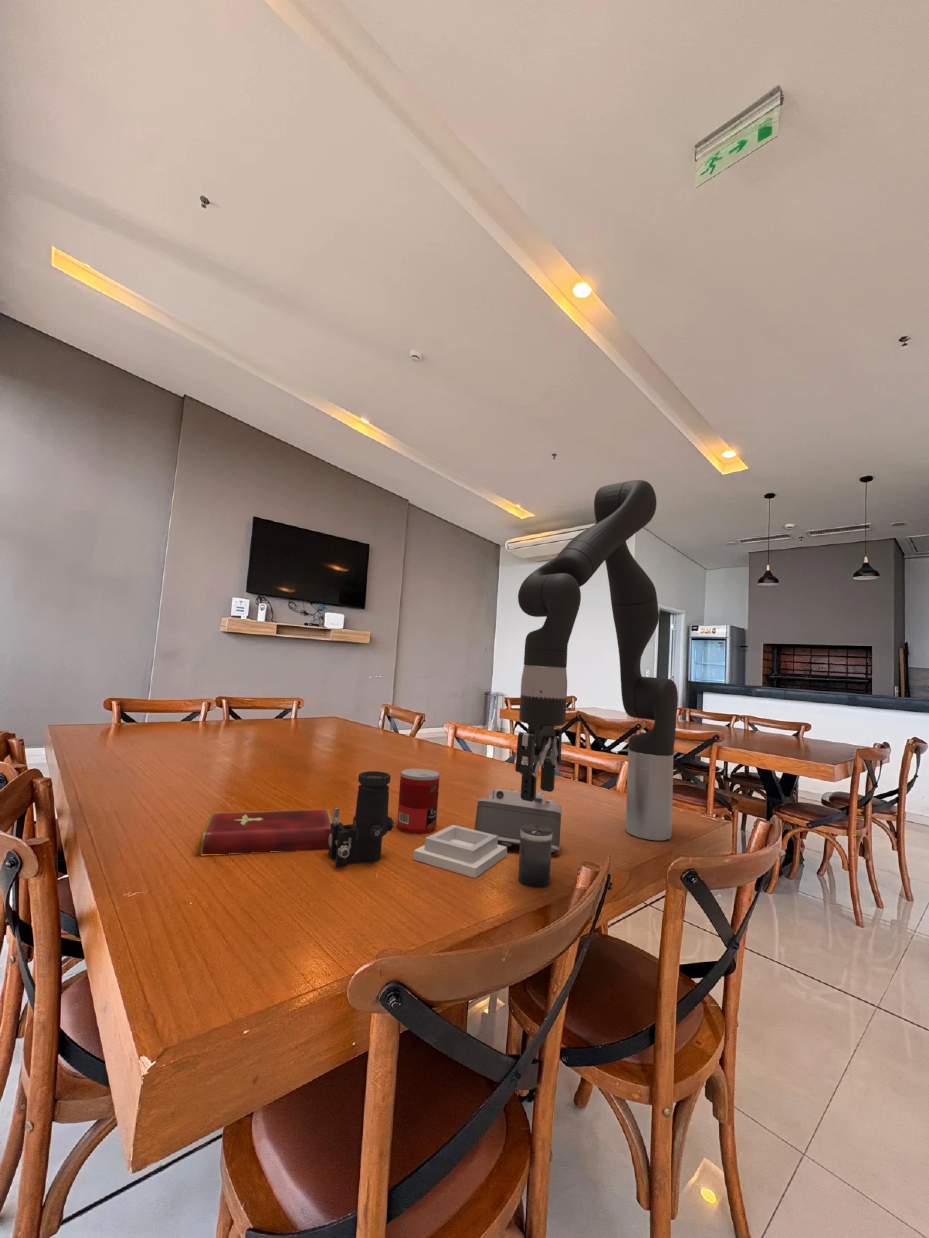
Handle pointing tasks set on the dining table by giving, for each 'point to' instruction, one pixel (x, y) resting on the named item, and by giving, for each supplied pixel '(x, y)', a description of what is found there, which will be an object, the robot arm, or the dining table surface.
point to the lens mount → (461, 850)
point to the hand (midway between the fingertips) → (538, 795)
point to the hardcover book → (266, 831)
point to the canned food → (418, 800)
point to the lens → (535, 856)
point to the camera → (516, 816)
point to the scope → (363, 823)
